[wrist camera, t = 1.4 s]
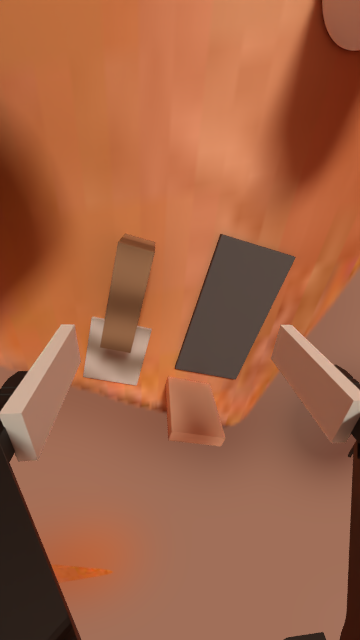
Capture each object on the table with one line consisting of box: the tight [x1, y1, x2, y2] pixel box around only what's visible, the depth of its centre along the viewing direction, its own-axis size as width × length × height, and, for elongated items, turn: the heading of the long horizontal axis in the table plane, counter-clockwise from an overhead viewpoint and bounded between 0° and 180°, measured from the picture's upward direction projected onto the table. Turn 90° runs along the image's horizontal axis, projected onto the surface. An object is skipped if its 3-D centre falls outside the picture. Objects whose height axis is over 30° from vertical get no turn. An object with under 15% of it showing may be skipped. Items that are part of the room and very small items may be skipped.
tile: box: [166, 377, 225, 446], centre depth 34 cm, size 7×2×10 cm, turn 74°
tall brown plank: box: [83, 234, 155, 385], centre depth 30 cm, size 22×8×6 cm, turn 164°
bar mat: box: [175, 234, 295, 379], centre depth 33 cm, size 10×20×1 cm, turn 164°
